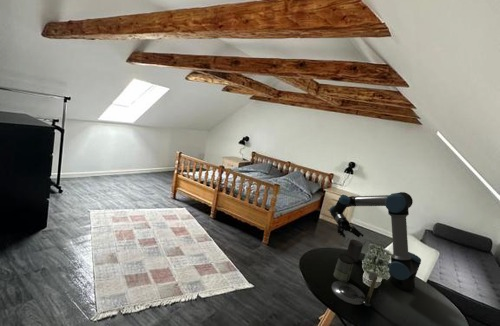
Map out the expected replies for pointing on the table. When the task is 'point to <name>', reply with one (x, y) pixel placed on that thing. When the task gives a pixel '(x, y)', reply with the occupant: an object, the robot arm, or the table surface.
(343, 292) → the turntable
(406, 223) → the robot arm
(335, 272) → the coffee can
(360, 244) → the pillar candle
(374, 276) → the gauge stand
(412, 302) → the table surface
